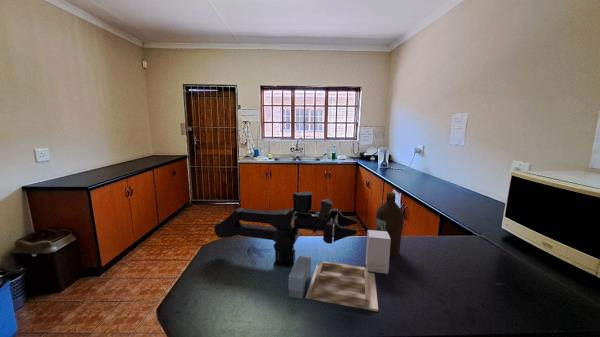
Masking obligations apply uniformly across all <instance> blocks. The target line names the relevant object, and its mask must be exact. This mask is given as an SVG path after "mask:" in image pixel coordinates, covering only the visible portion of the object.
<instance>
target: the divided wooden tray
mask: <svg viewBox="0 0 600 337" xmlns="http://www.w3.org/2000/svg"><path fill="white" fill-rule="evenodd" d="M377 294H378V293H377V284H376V276H375V272H369V271H367V268H366V266H359V265H353V264H352V265H351V264H345V263H337V262H331V261H324V260H323V261H322V260H320V263H319V265H318V264H316V266H315V269H314V272H313V275H312V277H311V280H310V283H309V286H308V289H307V292H306V294H305V299H309V300H315V301H320V302H324V303H329V304H335V305H341V306H347V307H352V308H356V309H360V310H361V309H362V310H368V311H373V312H379V303H378V295H377Z"/></svg>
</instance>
